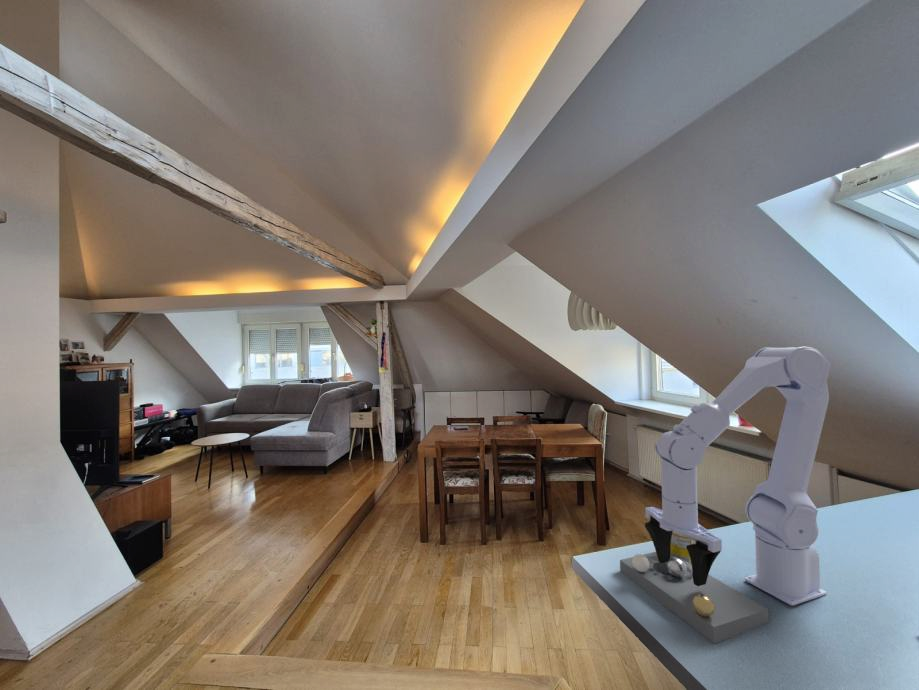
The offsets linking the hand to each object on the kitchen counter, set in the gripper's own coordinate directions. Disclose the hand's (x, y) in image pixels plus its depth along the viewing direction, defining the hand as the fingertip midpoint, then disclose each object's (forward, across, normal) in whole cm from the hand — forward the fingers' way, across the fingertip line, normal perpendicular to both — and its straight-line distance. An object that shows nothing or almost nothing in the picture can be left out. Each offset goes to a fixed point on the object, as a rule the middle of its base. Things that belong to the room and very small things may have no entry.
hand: (681, 572), depth 70 cm
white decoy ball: (0, -4, -5) cm, 7 cm away
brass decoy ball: (0, +8, -5) cm, 10 cm away
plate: (+4, +1, 0) cm, 4 cm away
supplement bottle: (+4, -8, +9) cm, 13 cm away
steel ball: (0, -1, 0) cm, 1 cm away
